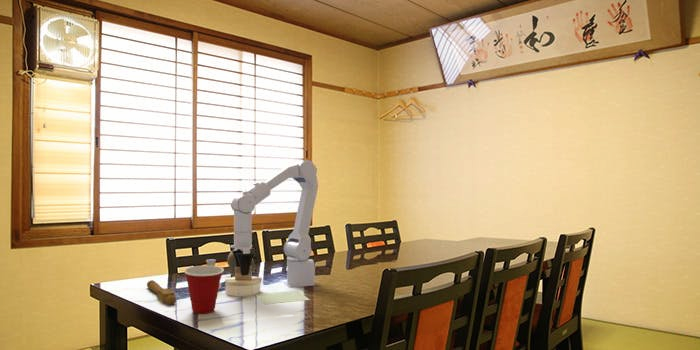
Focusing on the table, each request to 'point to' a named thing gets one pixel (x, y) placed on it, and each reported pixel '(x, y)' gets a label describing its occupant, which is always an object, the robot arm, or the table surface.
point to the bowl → (242, 290)
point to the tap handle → (162, 292)
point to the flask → (212, 263)
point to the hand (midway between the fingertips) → (242, 273)
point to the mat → (281, 297)
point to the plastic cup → (203, 287)
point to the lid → (243, 278)
